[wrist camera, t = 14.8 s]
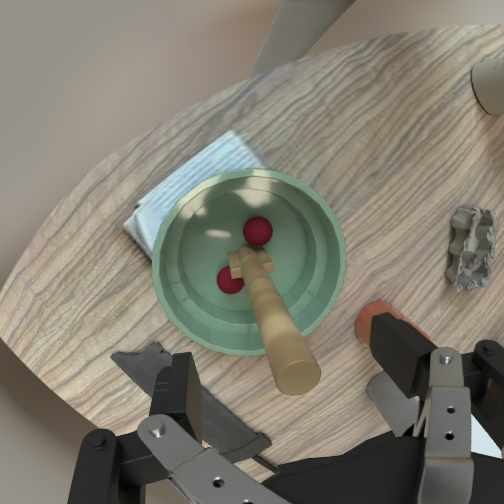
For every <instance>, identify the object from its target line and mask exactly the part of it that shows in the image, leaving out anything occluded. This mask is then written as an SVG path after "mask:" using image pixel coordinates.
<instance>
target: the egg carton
mask: <svg viewBox="0 0 504 504" xmlns="http://www.w3.org/2000/svg"><path fill="white" fill-rule="evenodd" d="M451 226H452V227H453V228H455V239H454V241H453V242H452V243H451V244H450V245H449V246H450V249H449V252H450V253H451V254H452V255H453V262H452V265H451V266H450V267H449V268H448V269H447V271H446V277H448V278H449V279H450V283H451V284H452V285H454V286H456V287H457V291H456V292H457V293H459V292H460V291H469V290H474V289H480V287H487V286H490V274H491V272H490V269H491V266H492V263H491V261H492V260H493V259H494V249H495V239H496V235H497V231H498V228H499V222H498V219H497V216H496V214H495V212H494V210H491V211H490V210H484V209H480V208H472V211H471V210H467V209H462V208H458V209H457V213H456V215H455V216H454V217H453V218H452V220H451Z"/></svg>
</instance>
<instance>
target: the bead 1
mask: <svg viewBox="0 0 504 504" xmlns="http://www.w3.org/2000/svg"><path fill="white" fill-rule="evenodd" d="M217 285H218V287H219V289H220V290H221V291H222V292H224V293H226V294H236V293H238V292H240V291H241V290H242V289H243V287H244V285H245V284H244V280H243V277H241V278H235V279H232V278H231V273H230V268H229V266H226V267H224V268H222V269H221V270H220V271H219V273H218V275H217Z"/></svg>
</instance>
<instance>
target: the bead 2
mask: <svg viewBox="0 0 504 504" xmlns="http://www.w3.org/2000/svg"><path fill="white" fill-rule="evenodd" d="M243 235H244V238H245V240H246V241H247V242H248V243H249V244H251V245H254V246H262V245H265V244H266V243H268V242H269V241H270V239H271V238H272V235H273V228H272V225H271V223H270V222H269V221H268V220H267V219H266V218H264V217H261V216H255V217H252V218H250V219H249V220H247V222H246V223H245V225H244V227H243Z"/></svg>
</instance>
